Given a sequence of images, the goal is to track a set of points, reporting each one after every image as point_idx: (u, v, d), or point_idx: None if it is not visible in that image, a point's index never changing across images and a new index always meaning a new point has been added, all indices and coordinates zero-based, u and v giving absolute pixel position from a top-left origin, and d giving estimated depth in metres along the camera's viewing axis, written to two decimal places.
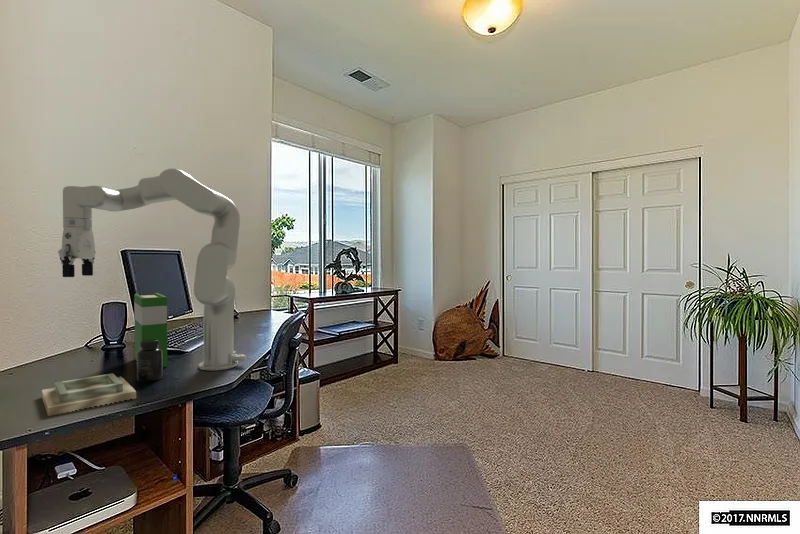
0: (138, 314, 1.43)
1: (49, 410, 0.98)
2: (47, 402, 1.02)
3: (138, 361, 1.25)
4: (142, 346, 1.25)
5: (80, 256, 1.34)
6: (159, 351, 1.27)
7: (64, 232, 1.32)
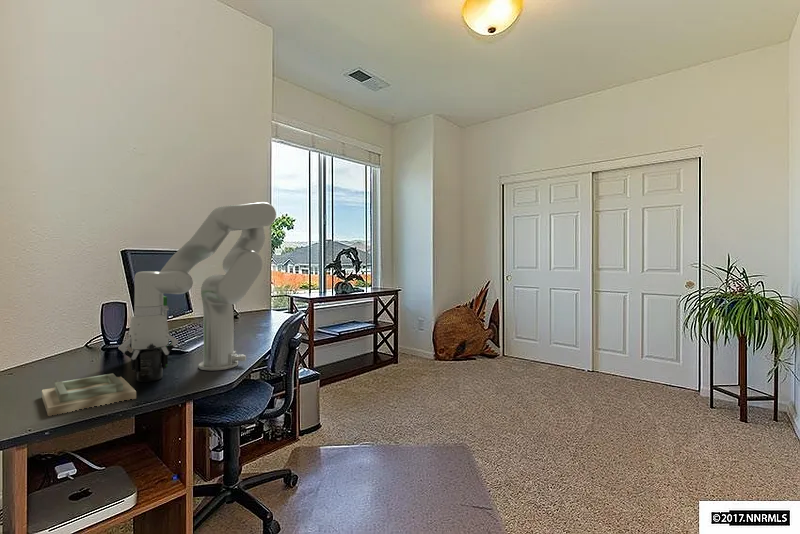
0: None
1: (49, 410, 0.98)
2: (47, 402, 1.02)
3: (138, 361, 1.25)
4: None
5: None
6: (159, 351, 1.27)
7: (166, 319, 1.29)
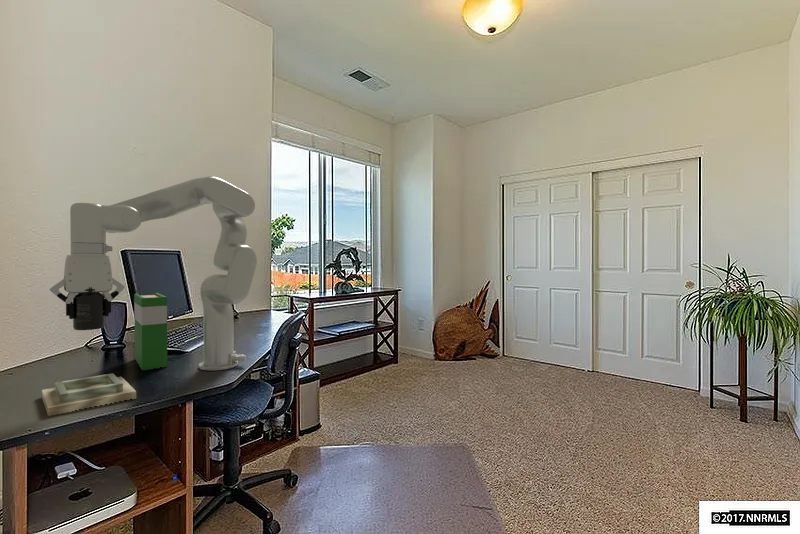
0: (138, 314, 1.43)
1: (49, 410, 0.98)
2: (47, 402, 1.02)
3: (74, 306, 1.08)
4: None
5: None
6: (100, 296, 1.10)
7: (109, 261, 1.12)
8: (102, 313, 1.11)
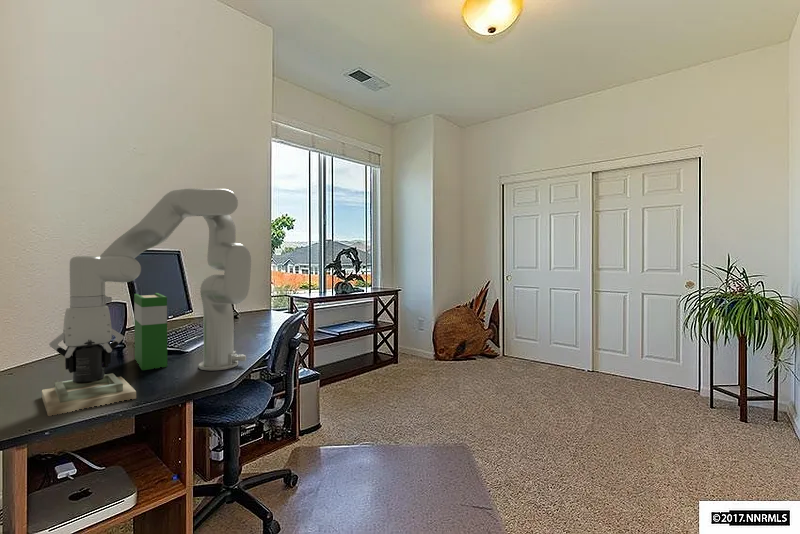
0: (138, 314, 1.43)
1: (49, 410, 0.98)
2: (47, 402, 1.02)
3: (73, 359, 1.08)
4: None
5: None
6: (99, 348, 1.11)
7: (109, 312, 1.13)
8: (101, 365, 1.11)
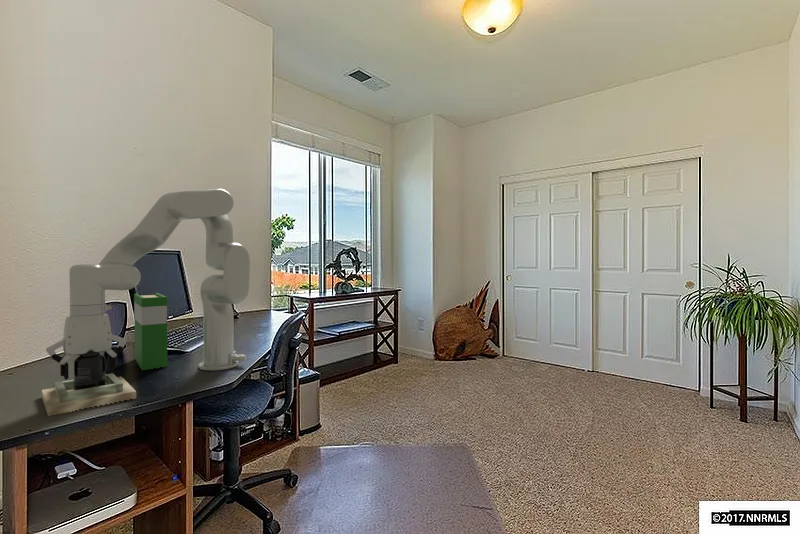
0: (138, 314, 1.43)
1: (49, 410, 0.98)
2: (47, 402, 1.02)
3: (74, 369, 1.08)
4: None
5: None
6: (100, 358, 1.11)
7: (109, 320, 1.13)
8: (103, 375, 1.11)
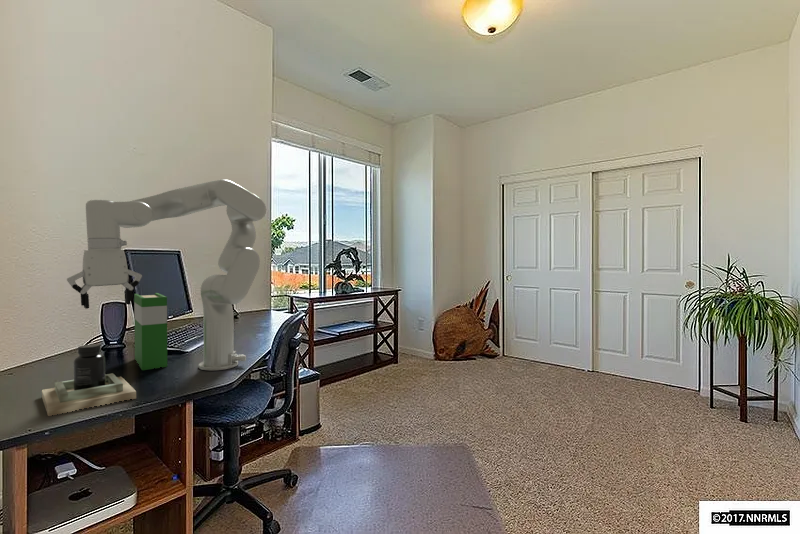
0: (138, 314, 1.43)
1: (49, 410, 0.98)
2: (47, 402, 1.02)
3: (74, 369, 1.08)
4: (80, 352, 1.09)
5: None
6: (100, 358, 1.11)
7: (124, 254, 1.18)
8: (103, 375, 1.11)
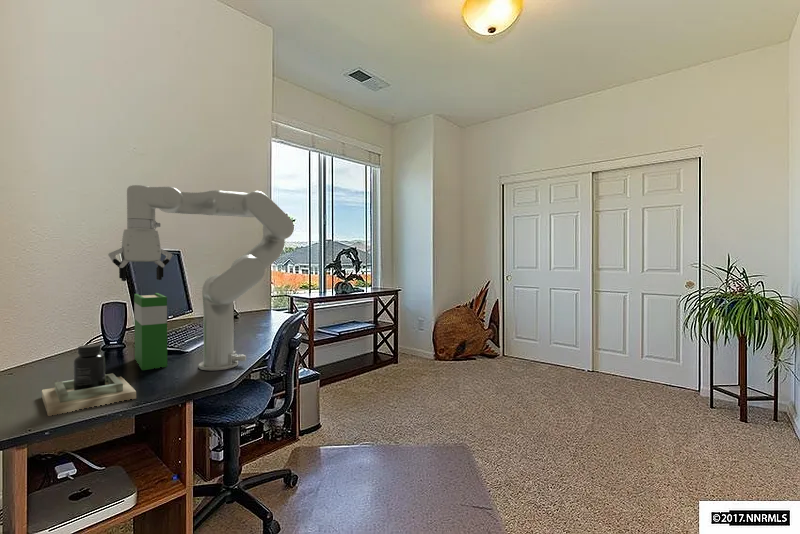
0: (138, 314, 1.43)
1: (49, 410, 0.98)
2: (47, 402, 1.02)
3: (74, 369, 1.08)
4: (80, 352, 1.09)
5: None
6: (100, 358, 1.11)
7: (158, 235, 1.32)
8: (103, 375, 1.11)
